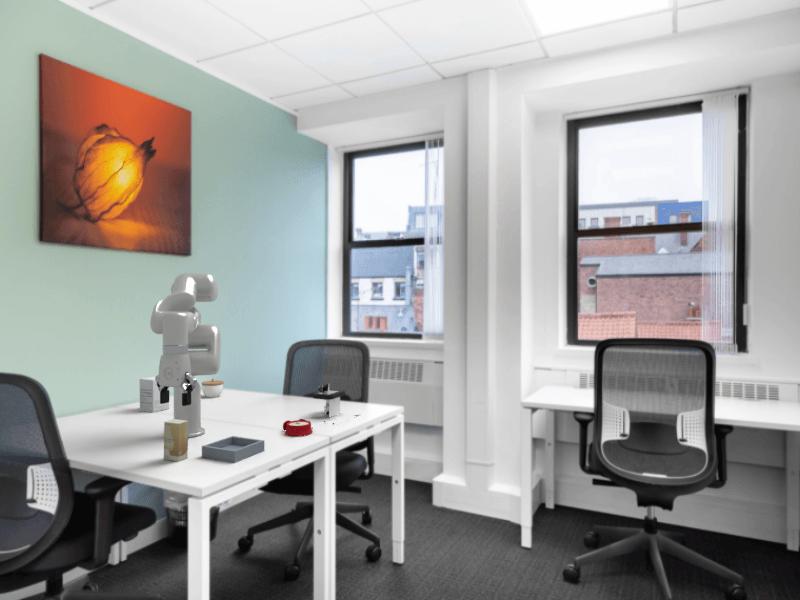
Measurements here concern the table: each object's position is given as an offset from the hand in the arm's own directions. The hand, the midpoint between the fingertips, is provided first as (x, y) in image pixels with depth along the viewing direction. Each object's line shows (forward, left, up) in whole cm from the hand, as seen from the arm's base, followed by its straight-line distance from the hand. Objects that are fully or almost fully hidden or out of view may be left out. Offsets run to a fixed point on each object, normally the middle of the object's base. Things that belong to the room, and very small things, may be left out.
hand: (175, 404), depth 169 cm
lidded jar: (-69, +85, -18) cm, 111 cm away
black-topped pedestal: (+9, +75, -18) cm, 77 cm away
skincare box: (0, 0, -18) cm, 18 cm away
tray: (+13, +12, -18) cm, 25 cm away
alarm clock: (+15, +45, -18) cm, 50 cm away
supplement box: (-69, +49, -18) cm, 87 cm away
